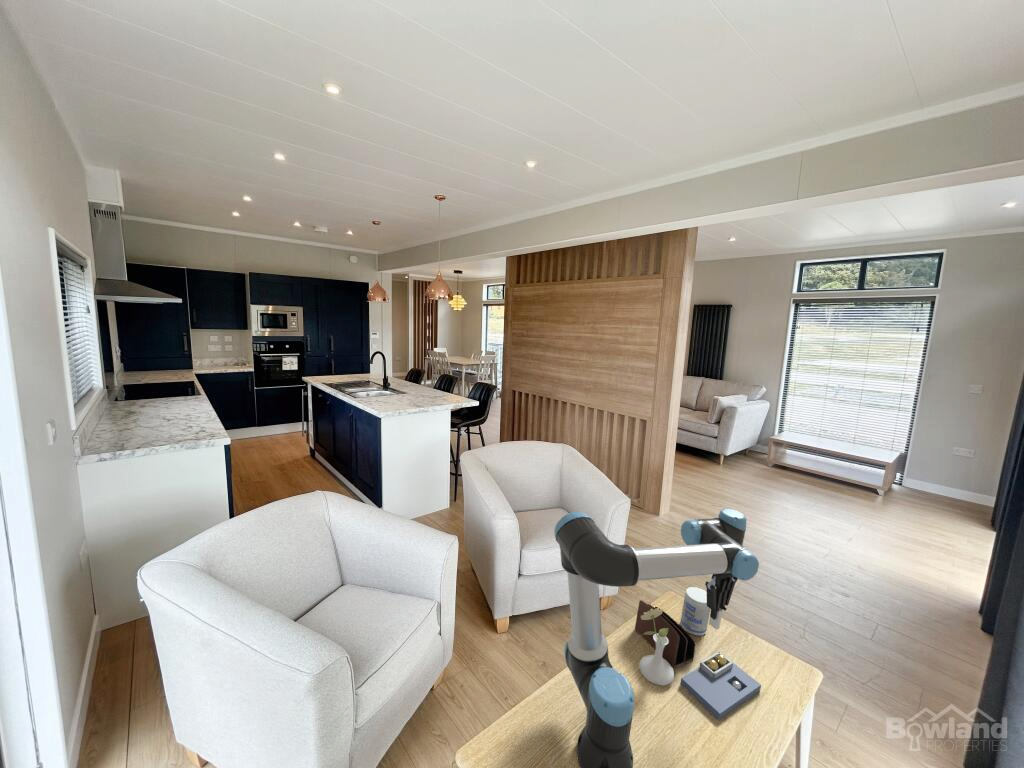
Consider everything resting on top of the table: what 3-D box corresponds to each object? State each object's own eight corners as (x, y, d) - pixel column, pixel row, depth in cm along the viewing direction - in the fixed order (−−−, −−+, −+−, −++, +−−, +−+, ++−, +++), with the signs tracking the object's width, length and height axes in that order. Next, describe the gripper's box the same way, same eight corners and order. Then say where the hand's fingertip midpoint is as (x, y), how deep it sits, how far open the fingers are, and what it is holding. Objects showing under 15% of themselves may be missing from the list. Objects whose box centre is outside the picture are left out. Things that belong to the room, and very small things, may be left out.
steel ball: (736, 695, 136) (739, 686, 136) (727, 688, 139) (730, 679, 139) (742, 694, 138) (745, 685, 138) (732, 686, 141) (735, 677, 141)
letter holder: (673, 669, 146) (678, 634, 143) (634, 629, 163) (638, 597, 161) (693, 660, 150) (699, 626, 147) (653, 622, 168) (657, 591, 165)
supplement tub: (680, 632, 163) (685, 598, 160) (679, 615, 172) (684, 583, 169) (707, 640, 160) (713, 605, 157) (705, 623, 169) (710, 590, 166)
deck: (718, 720, 128) (720, 708, 127) (680, 684, 140) (682, 672, 139) (759, 691, 139) (762, 679, 138) (721, 659, 151) (723, 649, 150)
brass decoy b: (721, 670, 143) (723, 661, 142) (712, 662, 146) (713, 654, 146) (728, 666, 145) (729, 657, 144) (718, 659, 148) (720, 650, 147)
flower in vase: (668, 662, 148) (677, 599, 144) (677, 691, 137) (687, 624, 133) (631, 657, 150) (638, 595, 145) (637, 685, 138) (645, 619, 134)
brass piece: (713, 676, 141) (714, 666, 140) (703, 668, 144) (705, 658, 143) (719, 672, 143) (721, 662, 142) (710, 664, 146) (711, 655, 145)
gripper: (723, 570, 123) (710, 640, 128) (750, 561, 130) (737, 628, 134) (701, 557, 130) (690, 624, 134) (728, 548, 136) (716, 612, 140)
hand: (713, 626), depth 134 cm, fingers closed
